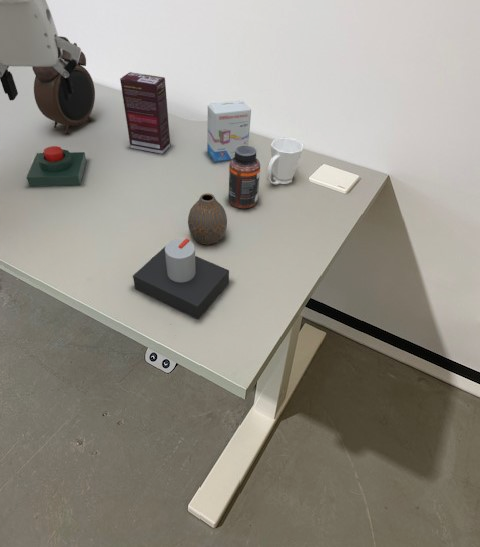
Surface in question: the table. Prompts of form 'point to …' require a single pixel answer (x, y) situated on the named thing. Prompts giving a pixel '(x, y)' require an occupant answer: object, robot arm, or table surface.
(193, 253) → the dial
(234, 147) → the ink box
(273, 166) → the cup
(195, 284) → the dial panel
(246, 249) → the table surface
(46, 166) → the green button base
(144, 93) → the supplement box
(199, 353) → the table surface
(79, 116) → the alarm clock
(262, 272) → the table surface
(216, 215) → the vase
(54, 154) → the lid button
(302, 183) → the table surface
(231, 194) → the supplement bottle
